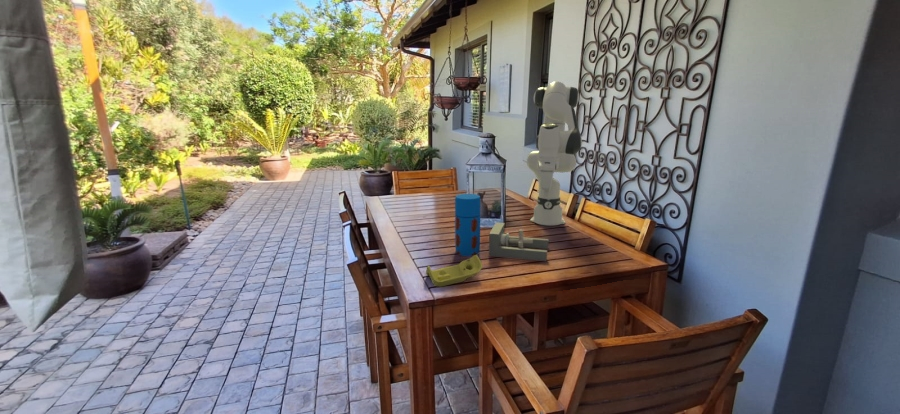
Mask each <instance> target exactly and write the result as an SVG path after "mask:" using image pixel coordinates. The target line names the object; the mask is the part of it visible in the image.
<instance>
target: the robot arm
mask: <svg viewBox="0 0 900 414" xmlns="http://www.w3.org/2000/svg"><path fill="white" fill-rule="evenodd" d="M579 101H580V93H579V90H578V88H577V87H573V86H566V85H565V84H564V82H561V81H553V82H551V83H549V84H548V85H547V86H546V87H544V86H542V87H538V88H537V89H535V92H534V95H533V103H534V106H535V107H536V108H537V109H542V111H543V113H544V117H543V124H541V126H540V127H539V132H538V134H537V135H536V141H535V142H536V143H535V145H536V146H535V148H536V149H537V150H535V151H534V150H533V151H531V152H530V153H529V154H528V155H527V158H526V165H527V167H528V168H529V170H530V171H532V172H533V173H534V175H535V176H536V177H535V178H536V179H537V183H538V196H537V202H536V203H537V204H536V205H534V208H533V216H532V217H531V218H530V220H529V222H533V223H536V224H538V225H540V226H541V225H542V226H558V225H563V224H566V221H565V219H564V218H563V207H561V205H560V204H561V197H560V191H561V184H560V182H559V180H557V179H556V178H554V177H553V176H554V173H570V172H573V170H574V169H575V168H576V166H577V158H576V156H575V154H577V153H578V152H579V151H581V150H582V146H583V139H582V136H581V132H580V128H579V123H578V119H577V113H576V110H575V108H576V107H577V105H578V103H579ZM566 125H567V129H568V130H566V129H565V128H566Z"/></svg>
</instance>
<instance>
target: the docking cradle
mask: <svg viewBox="0 0 900 414" xmlns="http://www.w3.org/2000/svg"><path fill="white" fill-rule="evenodd" d="M505 224H506V223H505V222H494V225H493V226H492V228H491V230H490V232H489V235H488V237H489V238H488V256H489V257H499V258H506V259H507V258H509V259H519V260H529V261H530V260H531V261H538V262H539V261H540V262H547V259H548V249H549V239H548V238H539V237H527V236H526V237H525V236H523V237H524V239H533V243H523V248H519V246H518V243H509V245H508V247H506V246H504V245H501V234H505ZM509 239H519V236H516V235H515V236H514V235H509Z"/></svg>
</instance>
